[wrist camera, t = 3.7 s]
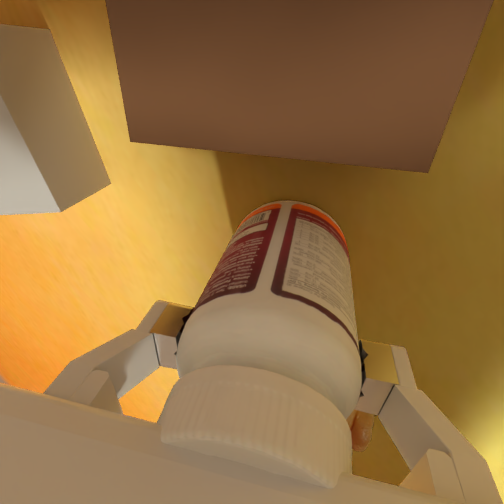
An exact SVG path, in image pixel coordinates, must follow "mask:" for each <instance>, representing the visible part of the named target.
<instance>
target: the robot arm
mask: <svg viewBox="0 0 504 504" xmlns="http://www.w3.org/2000/svg"><path fill="white" fill-rule="evenodd" d="M193 310H194V307H190V306H185V305H181V304H176V303H172V302H166V301H161V300H158V301H156V302H155V303H154V305H153V306H152V308H151V309H150V310H149V312H148V313H147V314H146V316H145V317H144V319H143V320H142V321H141V323H140V324H139V326H138V327H137V328H136V330H134V329H131V330H129V331H128V332H126V333H124V334H122V335H120V336H118V337H116V338H114V339H112V340H111V341H109V342H107V343H105V344H103V345H101V346H99V347H97V348H95V349H93V350H92V351H90V352H88V353H86V354H84V355H82V356H80V357H78V358H76V359H75V360H73V361H71V362H70V363H69V364H68V365H67V366H66V367H65V368H64V370H63V371H62V372H61V373H60V374H59V375H58V377H57V378H56V379H55V380H54V381H53V382H52V384H51V385H50V386H49V387H48V388H47V389H46V391H45V392H44V393H43V394H42V393H38V392H35V391H31V390H27V389H23V388H19V387H15V386H11V385H8V384H4V383H0V504H503V502H502V500H501V497H500V495H499V492H498V490H497V487H496V485H495V482H494V480H493V477H492V474H491V472H490V469H489V467H488V464H487V462H486V460H485V459H484V458H483V457H482V456H481V455H480V454H479V452H478V451H477V450H476V449H475V448H474V447H473V446H472V445H471V444H470V443H469V441H468V440H467V439H466V438H465V437H464V436H463V435H462V434H461V433H460V432H459V430H458V429H457V428H456V427H455V426H454V425H453V424H452V423H451V422H450V421H449V419H448V418H447V417H446V416H445V415H444V414H443V413H442V412H441V411H440V410H439V408H438V407H437V406H436V405H435V404H434V403H433V402H432V401H431V400H430V398H429V397H428V396H427V395H426V394H425V393H424V392H423V391H422V390H419V389H417V386H416V382H415V379H414V375H413V372H412V368H411V364H410V361H409V357H408V354H407V350H406V349H405V347H401V346H396V345H390V344H385V343H380V342H374V341H369V340H363V339H360V340H359V341H358V343H359V352H360V359H361V372H362V386H361V393H360V396H359V400H358V402H357V404H356V407H355V408H354V410H358V411H362V412H366V413H370V414H374V415H378V418H379V420H380V421H381V423H382V424H383V426H384V428H385V429H386V431H387V433H388V434H389V436H390V438H391V439H392V441H393V442H394V444H395V446H396V447H397V449H398V451H399V452H400V454H401V456H402V457H403V459H404V461H405V462H406V464H407V465H408V467H409V469H410V470H411V471H410V473H409V474H408V475H407V476H406V478H405V479H404V480H403V481H402V482H401V484H400V485H399V486H396V485H392V484H388V483H385V482H381V481H377V480H373V479H369V478H365V477H361V476H358V475H354V474H350V473H346V472H342V473H341V474H340V475H339V477H338V481H337V485H336V486H335V487H334V488H332V489H327V488H324V487H321V486H317V485H314V484H311V483H307V482H304V481H301V480H298V479H294V478H291V477H287V476H283V475H279V474H273V473H271V472H268V471H266V470H263V469H259V468H256V467H253V466H250V465H246V464H242V463H239V462H235V461H231V460H227V459H224V458H220V457H216V456H209V455H205V454H202V453H199V452H196V451H192V450H188V449H184V448H180V447H176V446H172V445H169V444H165V443H163V442H162V441H161V437H160V435H161V431H162V426H161V424H158V423H154V422H150V421H146V420H142V419H138V418H135V417H131V416H127V415H123V411H122V408H121V405H120V403H119V400H118V399H119V398H120V397H122V396H123V395H124V394H126V393H127V392H128V391H129V390H131V389H132V388H133V387H135V386H136V385H137V384H138V383H140V382H141V381H142V380H143V379H145V378H146V377H147V376H149V375H150V374H151V373H152V372H154V371H155V370H156V369H158V368H159V366H163V367H168V368H173V369H177V363H176V354H177V347H178V343H179V340H180V337H181V334H182V332H183V330H184V327H185V324H186V322H187V320H188V318H189V317H190V316H191V313H192V312H193Z"/></svg>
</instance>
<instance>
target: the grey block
mask: <svg viewBox="0 0 504 504" xmlns="http://www.w3.org/2000/svg"><path fill="white" fill-rule="evenodd" d="M110 184H111V182H110V179H109V177H108V174H107V172H106V169H105V167H104V164H103V162H102V159H101V157H100V154H99V152H98V149H97V147H96V144H95V142H94V139H93V137H92V134H91V132H90V129H89V127H88V124H87V122H86V119H85V117H84V114H83V112H82V109H81V107H80V104H79V102H78V99H77V97H76V94H75V92H74V89H73V87H72V84H71V82H70V79H69V77H68V74H67V72H66V69H65V67H64V64H63V62H62V59H61V57H60V54H59V52H58V49H57V47H56V44H55V42H54V39H53V37H52V34H51V32H50V29H43V28H34V27H25V26H16V25H6V24H0V215H13V214H33V213H53V212H62V211H64V210H66V209H67V208H69V207H71V206H73V205H74V204H76V203H78V202H80V201H81V200H83V199H85V198H87V197H88V196H90V195H92V194H94V193H96V192H97V191H99V190H101V189H103V188H104V187H106V186H108V185H110Z"/></svg>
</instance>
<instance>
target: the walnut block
mask: <svg viewBox="0 0 504 504" xmlns="http://www.w3.org/2000/svg"><path fill="white" fill-rule="evenodd" d="M105 1H106V6H107V12H108V18H109V23H110V29H111V35H112V40H113V46H114V52H115V57H116V63H117V69H118V74H119V80H120V86H121V91H122V97H123V103H124V108H125V114H126V120H127V125H128V131H129V137H130V142H137V143H147V144H156V145H166V146H176V147H185V148H195V149H204V150H214V151H223V152H233V153H242V154H252V155H261V156H271V157H280V158H290V159H299V160H309V161H319V162H328V163H338V164H347V165H357V166H366V167H376V168H385V169H395V170H404V171H414V172H423V173H428V172H429V169H430V166H431V164H432V161H433V159H434V156H435V153H436V151H437V148H438V145H439V143H440V140H441V137H442V135H443V132H444V130H445V127H446V124H447V122H448V119H449V116H450V114H451V111H452V109H453V106H454V103H455V101H456V98H457V95H458V93H459V90H460V87H461V85H462V82H463V80H464V77H465V74H466V72H467V69H468V66H469V64H470V61H471V59H472V56H473V53H474V51H475V48H476V45H477V43H478V40H479V37H480V35H481V32H482V30H483V27H484V24H485V22H486V19H487V16H488V14H489V11H490V9H491V6H492V3H493V1H494V0H105Z"/></svg>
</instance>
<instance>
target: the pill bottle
mask: <svg viewBox="0 0 504 504" xmlns="http://www.w3.org/2000/svg"><path fill="white" fill-rule="evenodd" d="M176 363H177V371H178V374H179V378H180V379H179V380H178V381H177V382H176V384H175V385H174V386H173V388H172V390H171V392H170V394H169V396H168V398H167V401H166V403H165V406H164V409H163V411H162V413H161V415H160V417H159V419H158V421H157V423H158V424H161V426H162V431H161V435H160V437H161V441H162V442H163V443H165V444H169V445H172V446H176V447H180V448H184V449H188V450H192V451H196V452H199V453H202V454H205V455H209V456H216V457H220V458H224V459H227V460H231V461H235V462H239V463H242V464H246V465H250V466H253V467H256V468H259V469H263V470H266V471H268V472H271V473H273V474H279V475H283V476H287V477H291V478H294V479H298V480H301V481H304V482H307V483H311V484H314V485H317V486H321V487H324V488H327V489H332V488H334V487H335V486H336V485H337V481H338V477H339V475H340V474H341V473H342V472H346V473H350V474H352V437H351V431H350V428H349V425H348V423H347V421H346V419H347V418H348V417H349V416H350V414H351V413H352V412H353V410H354V408H355V407H356V404H357V402H358V400H359V396H360V393H361V386H362V372H361V359H360V352H359V343H358V335H357V326H356V318H355V309H354V299H353V289H352V280H351V270H350V261H349V254H348V247H347V243H346V239H345V236H344V234H343V232H342V230H341V229H340V227H339V226H338V224H337V223H336V222H335V220H334V219H332V218H331V217H330V216H329V215H328V214H327V213H325V212H324V211H322V210H321V209H319V208H317V207H315V206H313V205H310V204H307V203H303V202H299V201H288V200H286V201H275V202H271V203H267V204H264V205H262V206H260V207H258V208H256V209H255V210H254V211H252V212H251V213H250V214H248V215H247V216H246V217H245V218H244V220H243V221H242V222H241V223H240V225H239V226H238V228H237V230H236V232H235V233H234V235H233V236H232V239H231V240H230V242H229V244H228V246H227V248H226V250H225V252H224V254H223V256H222V257H221V259H220V261H219V263H218V265H217V267H216V269H215V271H214V272H213V274H212V276H211V278H210V280H209V282H208V283H207V285H206V287H205V289H204V291H203V293H202V295H201V297H200V298H199V300H198V302H197V304H196V306H195V308H194V310H193V312H192V313H191V316H190V317H189V318H188V320H187V322H186V324H185V327H184V330H183V332H182V334H181V337H180V340H179V343H178V347H177V354H176Z"/></svg>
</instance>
